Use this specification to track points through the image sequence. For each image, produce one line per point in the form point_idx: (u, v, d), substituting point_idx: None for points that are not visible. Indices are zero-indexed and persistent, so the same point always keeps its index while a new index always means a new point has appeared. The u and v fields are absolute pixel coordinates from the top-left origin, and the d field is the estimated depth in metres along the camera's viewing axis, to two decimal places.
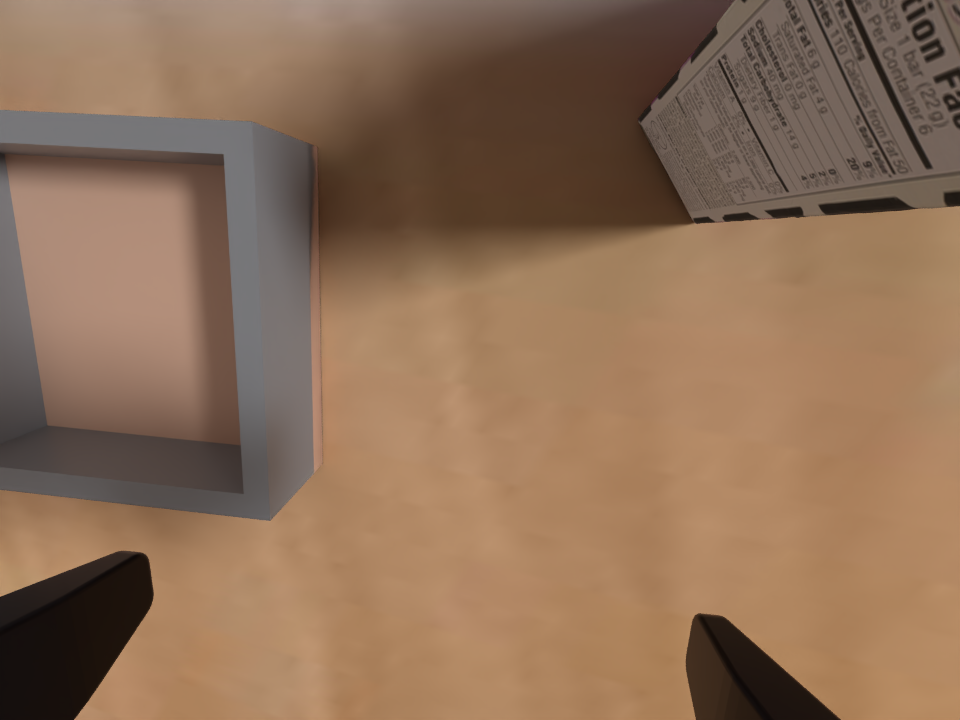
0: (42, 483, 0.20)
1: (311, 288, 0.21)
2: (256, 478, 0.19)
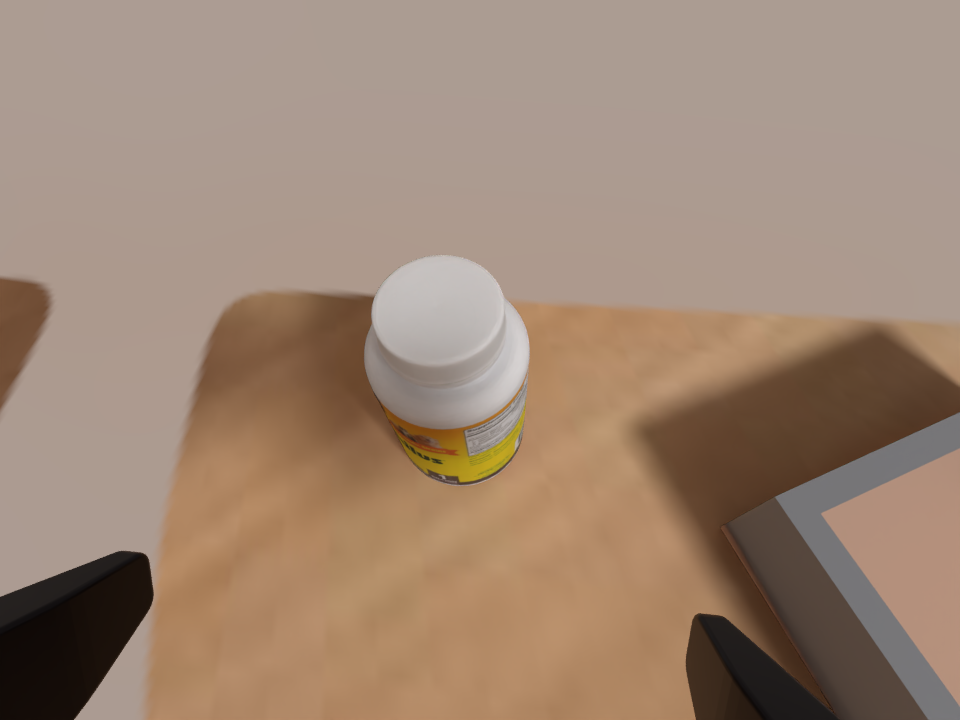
0: (892, 640, 0.15)
1: None
2: None
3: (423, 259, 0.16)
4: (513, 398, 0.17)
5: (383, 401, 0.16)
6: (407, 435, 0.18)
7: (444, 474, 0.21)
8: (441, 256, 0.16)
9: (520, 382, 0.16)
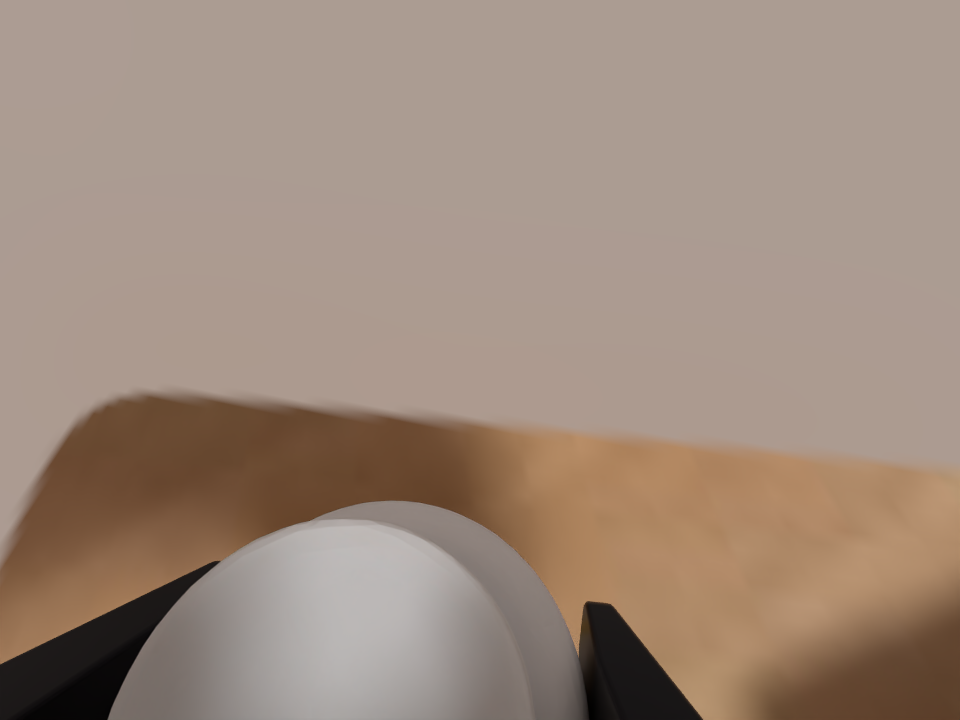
0: None
1: None
2: None
3: (297, 533, 0.05)
4: None
5: None
6: None
7: None
8: (351, 525, 0.05)
9: None
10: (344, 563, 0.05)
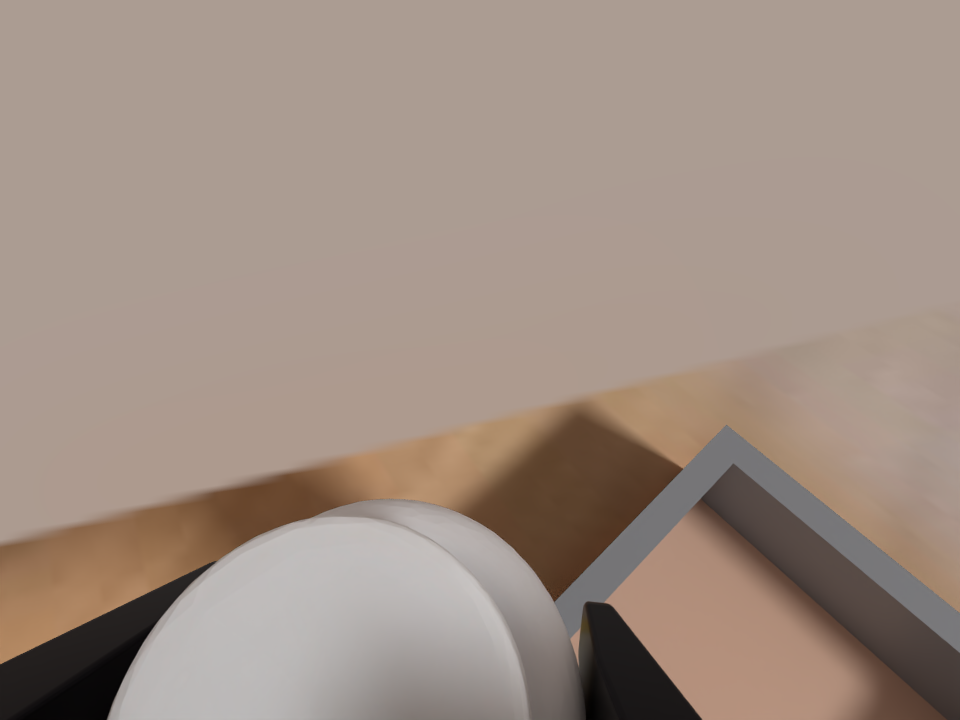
0: None
1: None
2: None
3: (296, 531, 0.06)
4: None
5: None
6: None
7: None
8: (349, 522, 0.06)
9: None
10: (342, 560, 0.05)
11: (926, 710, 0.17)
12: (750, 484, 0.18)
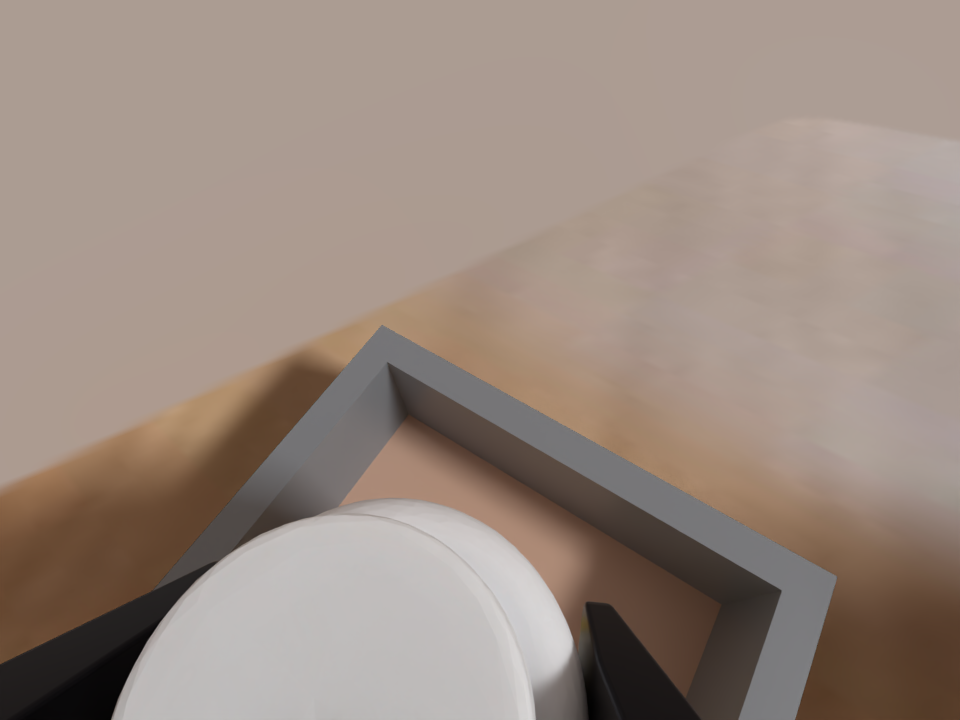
0: None
1: None
2: None
3: (300, 529, 0.06)
4: None
5: None
6: None
7: None
8: (353, 521, 0.06)
9: None
10: (346, 559, 0.05)
11: (640, 564, 0.16)
12: (410, 380, 0.16)
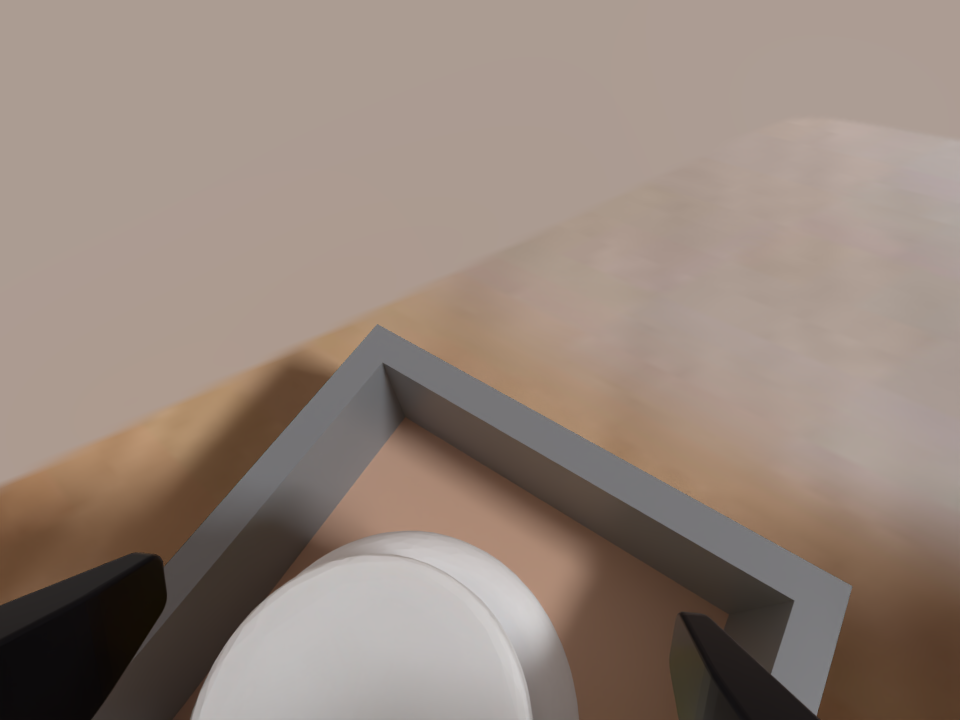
0: None
1: None
2: None
3: (337, 568, 0.07)
4: None
5: None
6: None
7: None
8: (381, 561, 0.07)
9: None
10: (376, 593, 0.06)
11: (645, 572, 0.16)
12: (406, 381, 0.15)
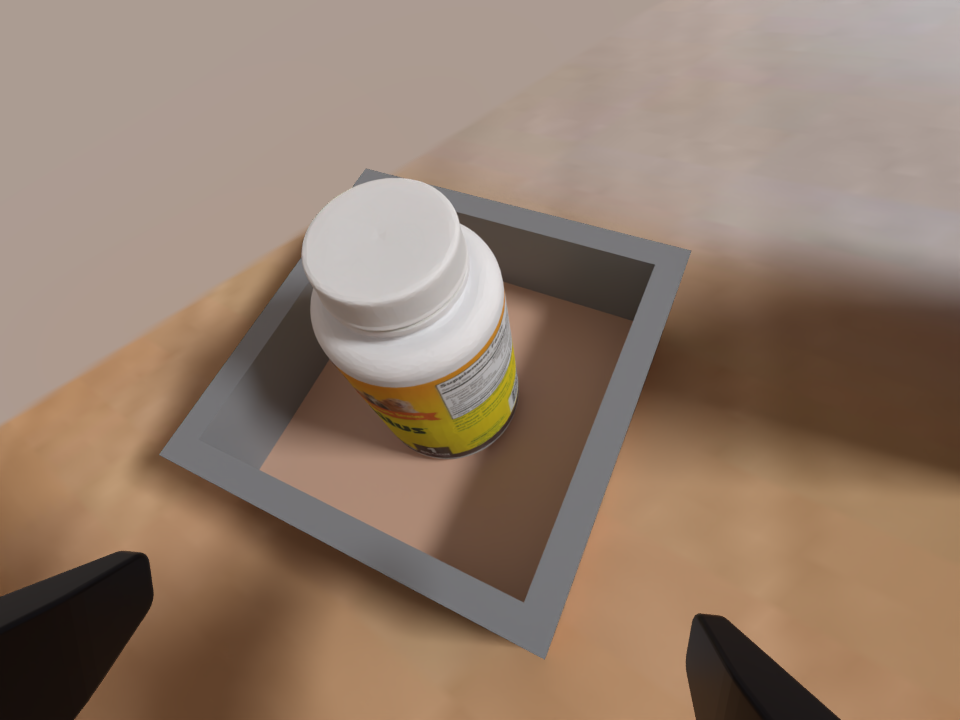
0: (274, 496, 0.16)
1: None
2: (552, 585, 0.14)
3: (358, 187, 0.13)
4: (490, 340, 0.14)
5: (336, 363, 0.14)
6: (376, 403, 0.15)
7: (432, 446, 0.18)
8: (379, 180, 0.13)
9: (495, 320, 0.14)
10: (379, 190, 0.13)
11: (580, 310, 0.23)
12: None
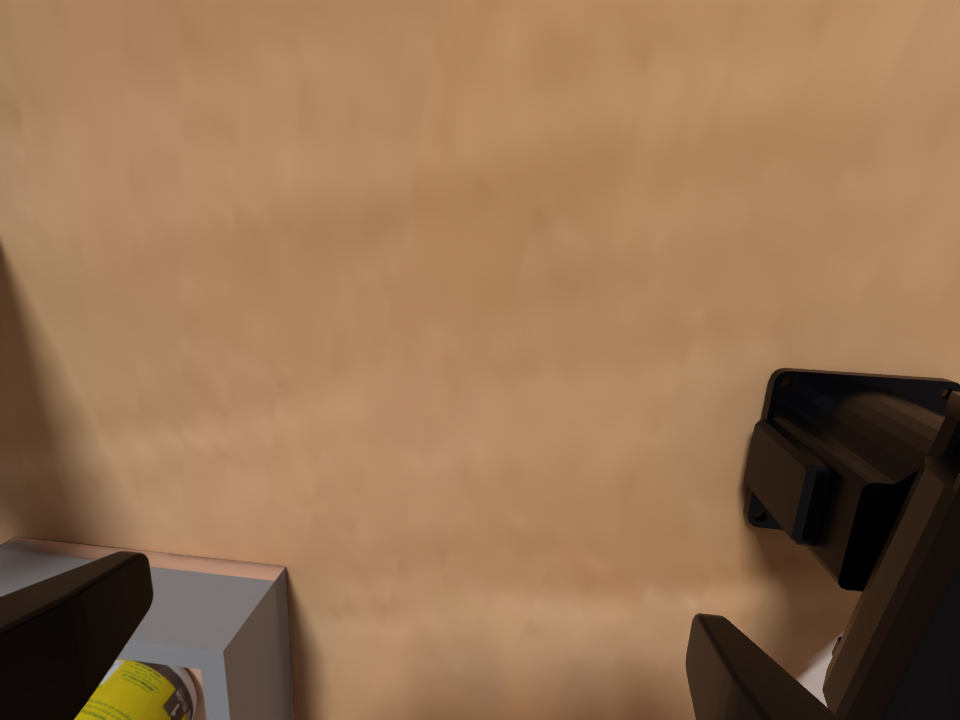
0: None
1: None
2: (181, 655, 0.20)
3: None
4: None
5: None
6: None
7: (167, 717, 0.23)
8: None
9: None
10: None
11: None
12: None
